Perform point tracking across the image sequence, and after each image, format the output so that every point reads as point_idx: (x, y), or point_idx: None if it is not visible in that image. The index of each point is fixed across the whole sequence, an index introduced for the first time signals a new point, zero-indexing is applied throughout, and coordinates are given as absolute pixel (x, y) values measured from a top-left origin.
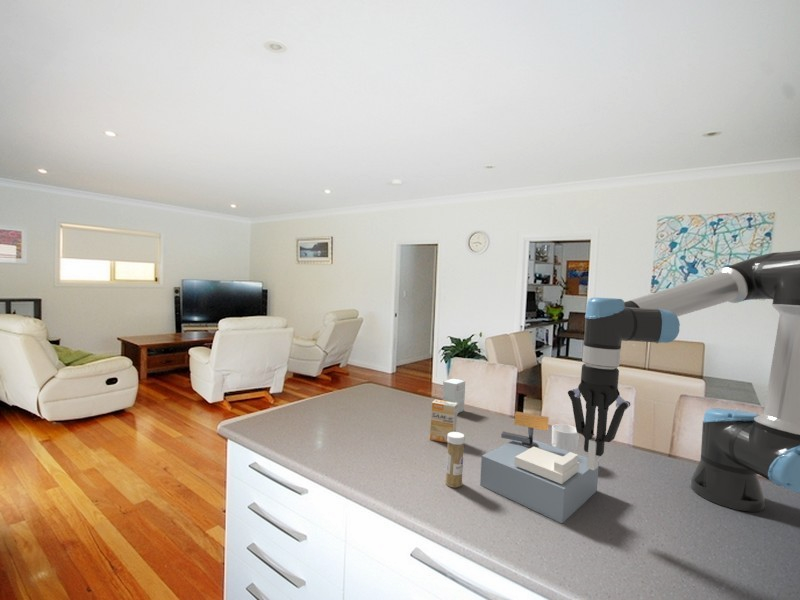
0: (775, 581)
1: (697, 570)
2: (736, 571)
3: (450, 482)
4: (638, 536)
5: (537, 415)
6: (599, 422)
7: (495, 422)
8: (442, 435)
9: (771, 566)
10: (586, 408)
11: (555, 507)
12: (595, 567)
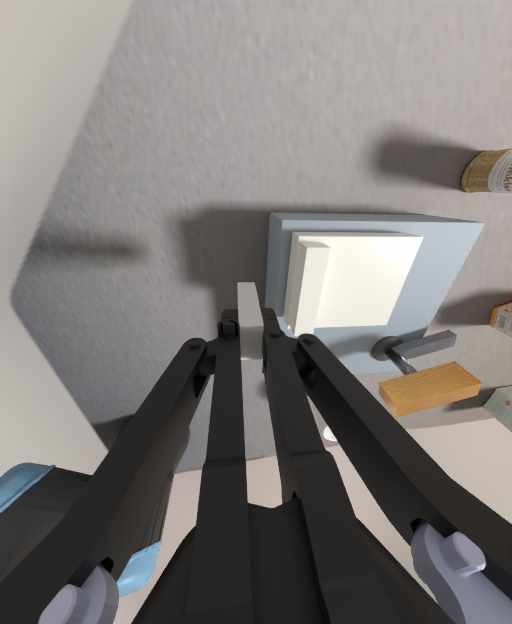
0: (31, 310)
1: (87, 255)
2: (63, 295)
3: (494, 151)
4: (176, 276)
5: (423, 408)
6: (231, 394)
7: None
8: None
9: (53, 337)
10: (325, 452)
11: (287, 214)
12: (175, 113)
